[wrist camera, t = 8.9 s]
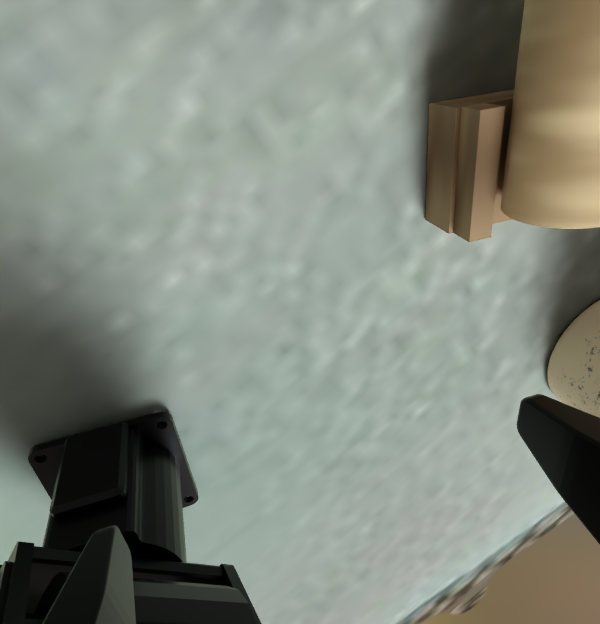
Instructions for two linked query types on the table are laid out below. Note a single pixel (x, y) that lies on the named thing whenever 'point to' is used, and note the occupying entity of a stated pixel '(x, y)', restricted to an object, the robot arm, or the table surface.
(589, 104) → the rod
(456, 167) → the block
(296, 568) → the table surface
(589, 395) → the teacup with lid
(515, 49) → the table surface
